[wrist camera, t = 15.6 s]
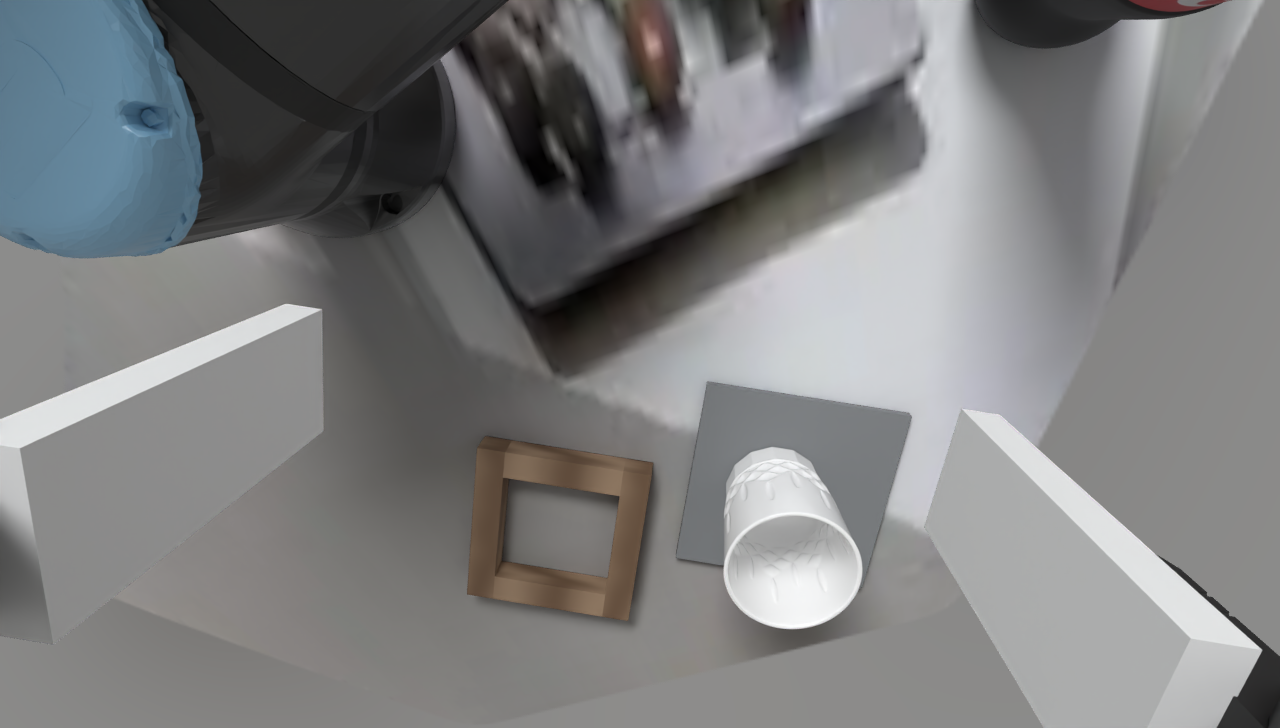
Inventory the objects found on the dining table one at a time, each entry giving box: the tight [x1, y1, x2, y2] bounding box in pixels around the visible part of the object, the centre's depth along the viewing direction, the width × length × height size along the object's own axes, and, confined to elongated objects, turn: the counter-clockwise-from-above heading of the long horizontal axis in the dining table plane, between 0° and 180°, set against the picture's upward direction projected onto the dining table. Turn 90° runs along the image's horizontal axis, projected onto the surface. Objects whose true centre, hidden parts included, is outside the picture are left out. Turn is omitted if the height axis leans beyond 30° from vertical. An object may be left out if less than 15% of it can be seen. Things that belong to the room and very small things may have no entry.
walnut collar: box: [467, 436, 653, 621], centre depth 51 cm, size 12×12×2 cm
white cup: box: [724, 447, 862, 629], centre depth 44 cm, size 8×8×10 cm
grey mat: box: [676, 382, 912, 588], centre depth 49 cm, size 14×14×1 cm
